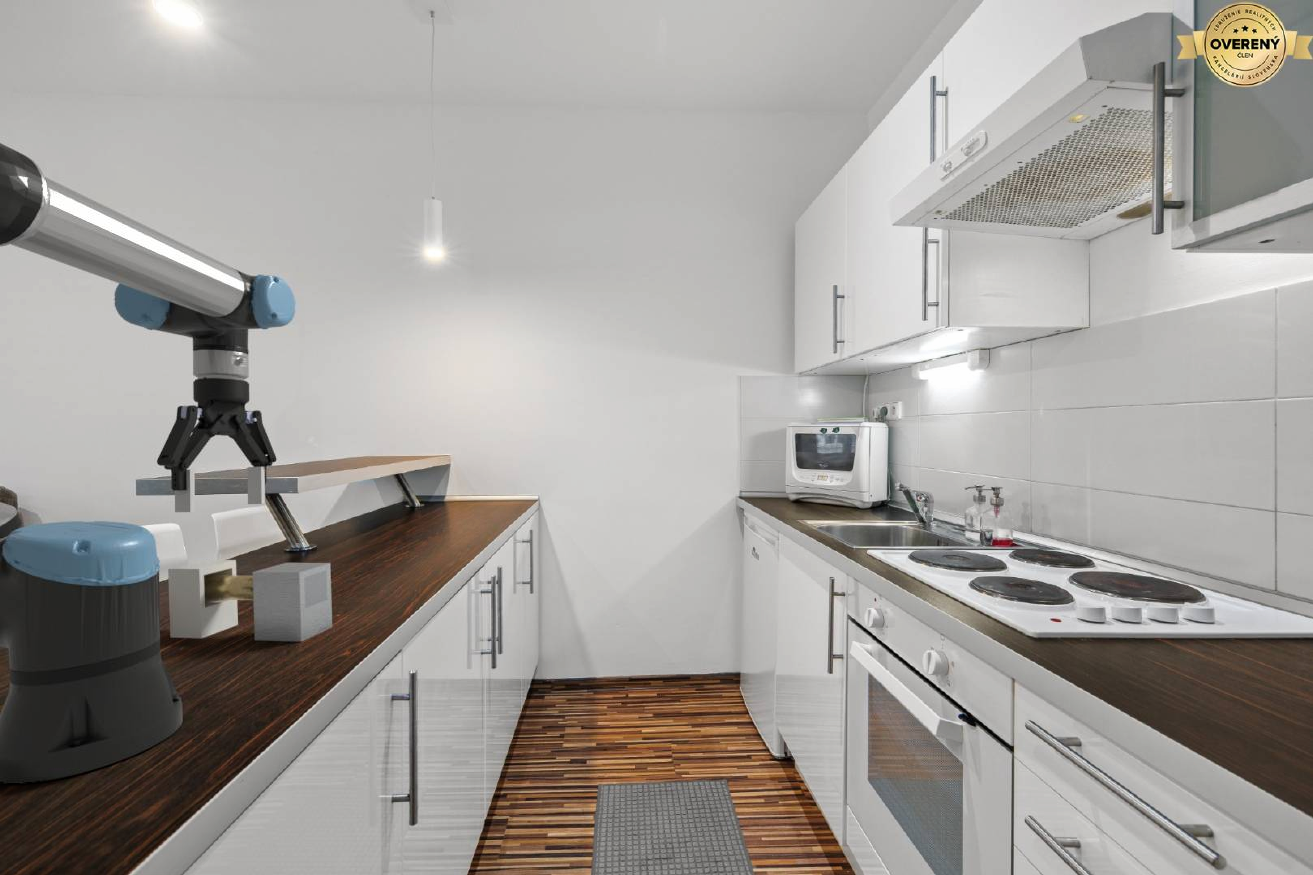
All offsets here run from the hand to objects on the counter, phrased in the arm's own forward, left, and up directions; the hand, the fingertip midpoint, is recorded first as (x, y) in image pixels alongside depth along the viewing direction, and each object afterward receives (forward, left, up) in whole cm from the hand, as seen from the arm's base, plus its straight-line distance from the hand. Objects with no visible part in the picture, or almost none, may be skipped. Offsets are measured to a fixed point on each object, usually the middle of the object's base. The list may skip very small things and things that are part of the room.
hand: (223, 507), depth 99 cm
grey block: (+2, -11, -21) cm, 24 cm away
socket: (+2, +7, -21) cm, 22 cm away
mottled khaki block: (+2, -1, -16) cm, 16 cm away
